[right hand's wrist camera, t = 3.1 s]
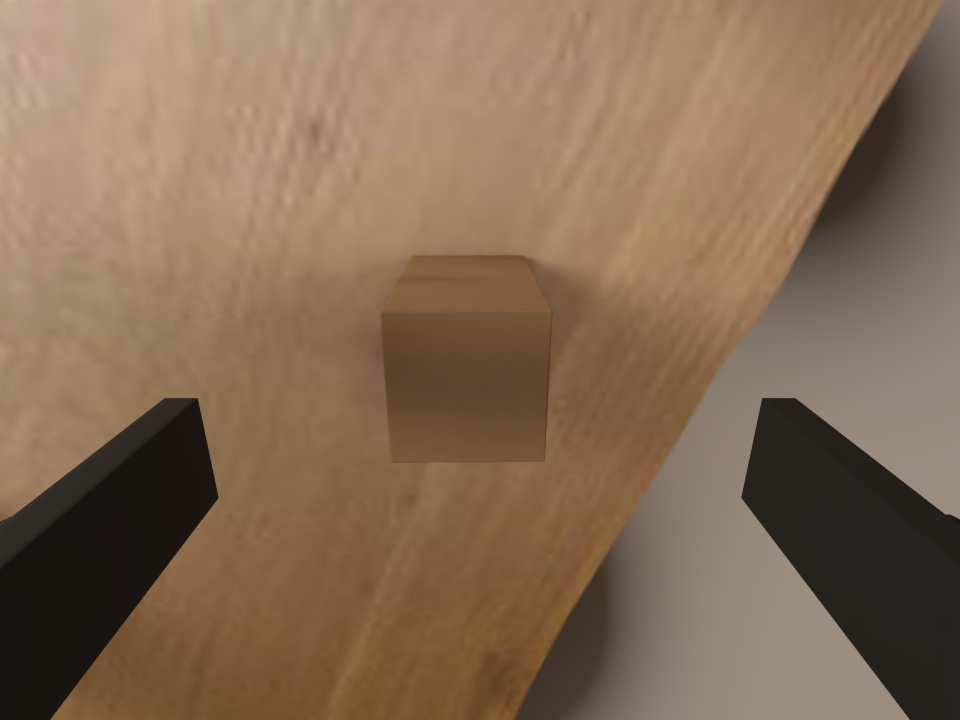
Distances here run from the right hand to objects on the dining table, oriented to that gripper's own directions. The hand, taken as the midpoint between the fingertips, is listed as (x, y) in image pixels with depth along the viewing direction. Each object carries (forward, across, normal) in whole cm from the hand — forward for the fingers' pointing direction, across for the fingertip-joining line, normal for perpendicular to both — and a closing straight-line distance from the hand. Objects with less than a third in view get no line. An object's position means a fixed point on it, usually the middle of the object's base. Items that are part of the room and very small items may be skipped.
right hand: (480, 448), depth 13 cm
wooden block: (+12, 0, 0) cm, 12 cm away
